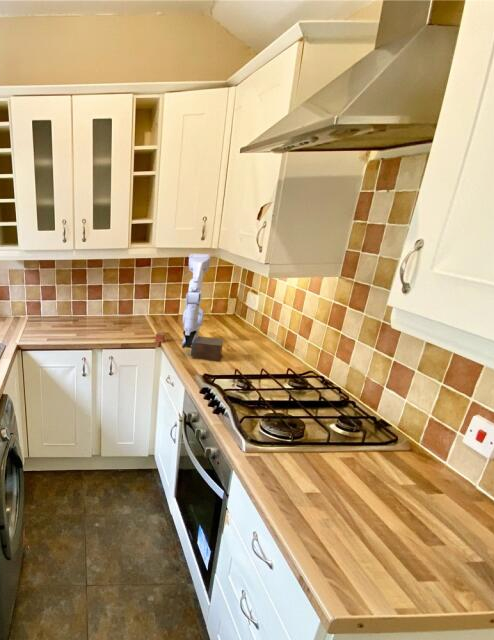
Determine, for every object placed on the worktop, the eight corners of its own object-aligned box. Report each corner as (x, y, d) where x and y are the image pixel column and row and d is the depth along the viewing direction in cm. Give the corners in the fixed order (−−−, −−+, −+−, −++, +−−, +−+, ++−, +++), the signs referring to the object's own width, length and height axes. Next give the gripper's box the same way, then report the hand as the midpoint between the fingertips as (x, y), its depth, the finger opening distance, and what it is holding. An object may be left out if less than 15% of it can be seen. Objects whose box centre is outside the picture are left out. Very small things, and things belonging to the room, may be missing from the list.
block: (157, 339, 217) (157, 332, 216) (164, 340, 216) (165, 333, 214) (155, 341, 214) (155, 334, 212) (162, 342, 212) (163, 335, 211)
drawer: (180, 354, 193) (181, 342, 191) (184, 348, 201) (185, 336, 199) (213, 358, 187) (215, 346, 185) (216, 352, 195) (218, 340, 193)
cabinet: (192, 358, 191) (194, 342, 188) (196, 351, 200) (198, 336, 197) (218, 361, 186) (220, 345, 183) (221, 354, 195) (223, 339, 192)
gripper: (197, 322, 182) (194, 351, 187) (202, 315, 194) (199, 342, 199) (181, 321, 184) (178, 349, 190) (187, 313, 197) (184, 340, 202)
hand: (188, 346), depth 195 cm, fingers closed
